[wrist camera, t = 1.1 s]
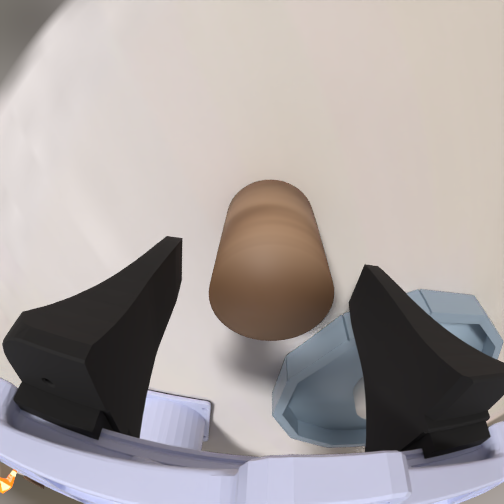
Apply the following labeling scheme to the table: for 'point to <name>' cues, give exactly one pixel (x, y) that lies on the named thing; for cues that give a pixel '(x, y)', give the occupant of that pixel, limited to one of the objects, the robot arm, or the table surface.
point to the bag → (5, 470)
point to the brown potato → (271, 265)
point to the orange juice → (7, 482)
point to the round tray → (358, 371)
